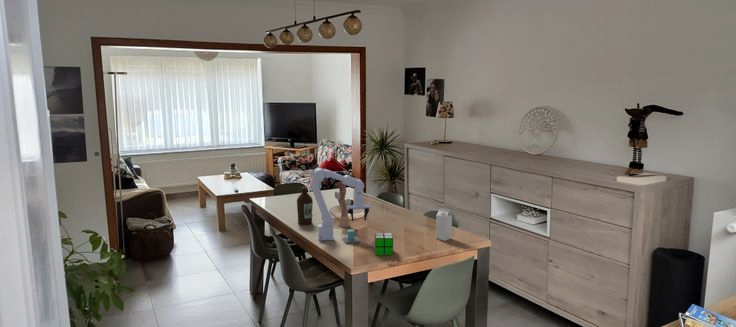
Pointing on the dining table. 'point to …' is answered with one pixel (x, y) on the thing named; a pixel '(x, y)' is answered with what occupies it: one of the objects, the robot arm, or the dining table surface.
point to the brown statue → (343, 205)
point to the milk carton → (443, 224)
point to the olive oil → (304, 208)
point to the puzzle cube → (383, 244)
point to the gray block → (351, 240)
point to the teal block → (351, 234)
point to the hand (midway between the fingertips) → (358, 220)
